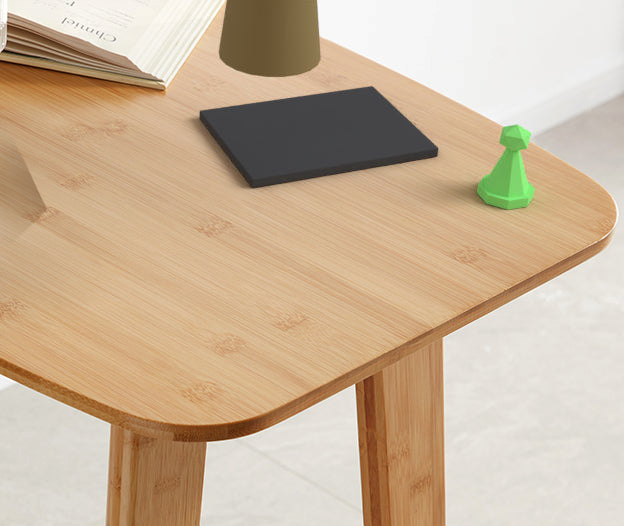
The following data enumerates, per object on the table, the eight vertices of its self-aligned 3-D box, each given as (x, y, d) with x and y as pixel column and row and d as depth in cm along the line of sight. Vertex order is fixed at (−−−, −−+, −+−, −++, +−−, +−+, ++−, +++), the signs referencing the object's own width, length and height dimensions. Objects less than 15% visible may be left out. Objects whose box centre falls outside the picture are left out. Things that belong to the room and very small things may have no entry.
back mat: (252, 188, 85) (252, 179, 85) (199, 118, 94) (199, 110, 93) (437, 156, 91) (439, 147, 90) (371, 93, 100) (372, 85, 99)
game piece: (544, 198, 87) (559, 127, 83) (508, 215, 84) (521, 143, 81) (501, 175, 89) (514, 105, 85) (465, 191, 87) (476, 120, 83)
